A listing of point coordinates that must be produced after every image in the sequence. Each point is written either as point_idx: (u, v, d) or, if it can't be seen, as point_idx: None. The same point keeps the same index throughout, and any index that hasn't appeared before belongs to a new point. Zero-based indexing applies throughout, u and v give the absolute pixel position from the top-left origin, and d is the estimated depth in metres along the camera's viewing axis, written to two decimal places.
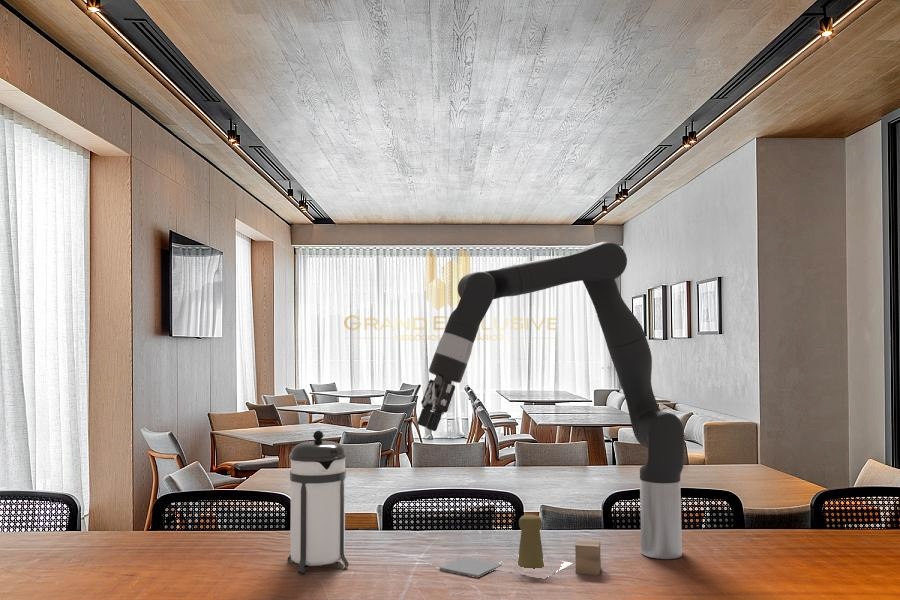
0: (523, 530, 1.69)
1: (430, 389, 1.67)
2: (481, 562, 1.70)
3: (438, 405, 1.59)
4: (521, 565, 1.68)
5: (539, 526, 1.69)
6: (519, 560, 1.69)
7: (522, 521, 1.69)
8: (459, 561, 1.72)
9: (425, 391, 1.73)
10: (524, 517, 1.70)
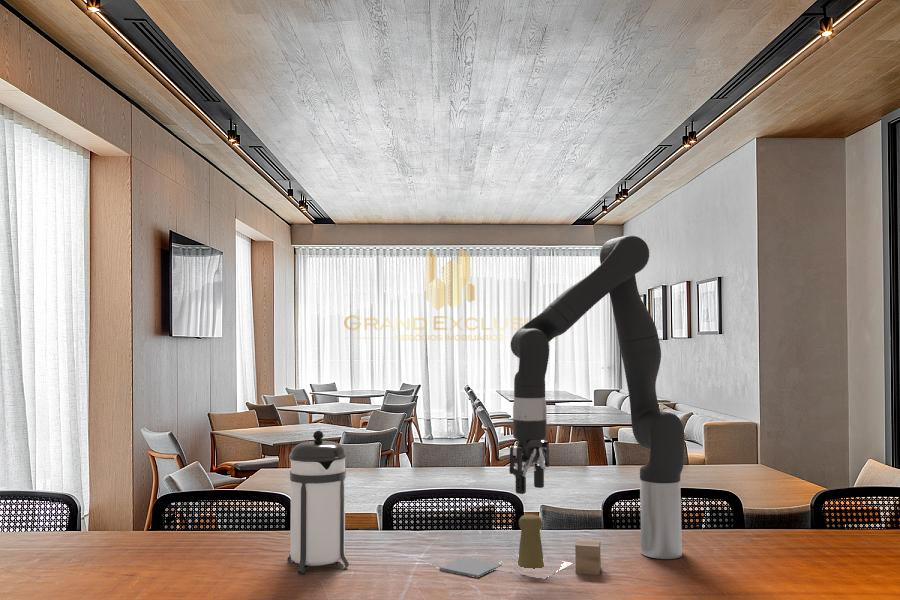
0: (523, 530, 1.69)
1: None
2: (481, 562, 1.70)
3: (510, 470, 1.66)
4: (521, 565, 1.68)
5: (539, 526, 1.69)
6: (519, 560, 1.69)
7: (522, 521, 1.69)
8: (459, 561, 1.72)
9: None
10: (524, 517, 1.70)
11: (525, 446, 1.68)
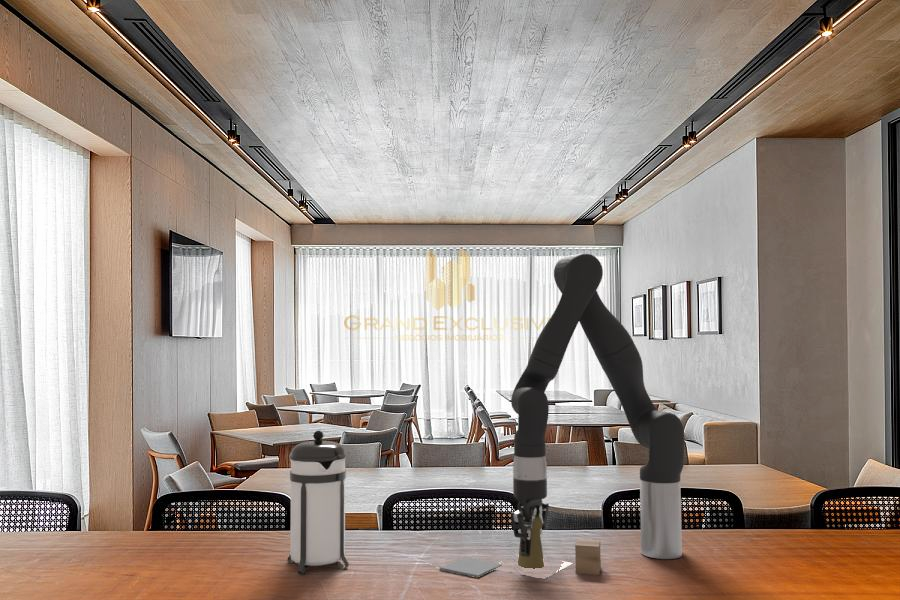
0: None
1: None
2: (481, 562, 1.70)
3: (515, 534, 1.67)
4: (521, 565, 1.68)
5: (539, 526, 1.69)
6: (519, 560, 1.69)
7: None
8: (459, 561, 1.72)
9: None
10: None
11: (525, 507, 1.67)
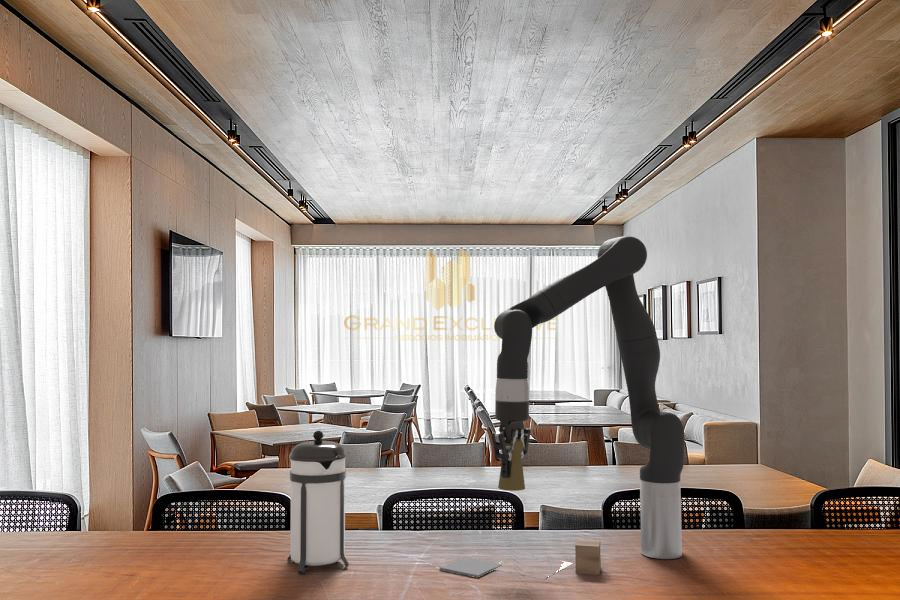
0: None
1: None
2: (481, 562, 1.70)
3: (496, 455, 1.67)
4: (502, 487, 1.68)
5: (520, 448, 1.69)
6: (500, 482, 1.69)
7: None
8: (459, 561, 1.72)
9: None
10: None
11: (506, 428, 1.67)
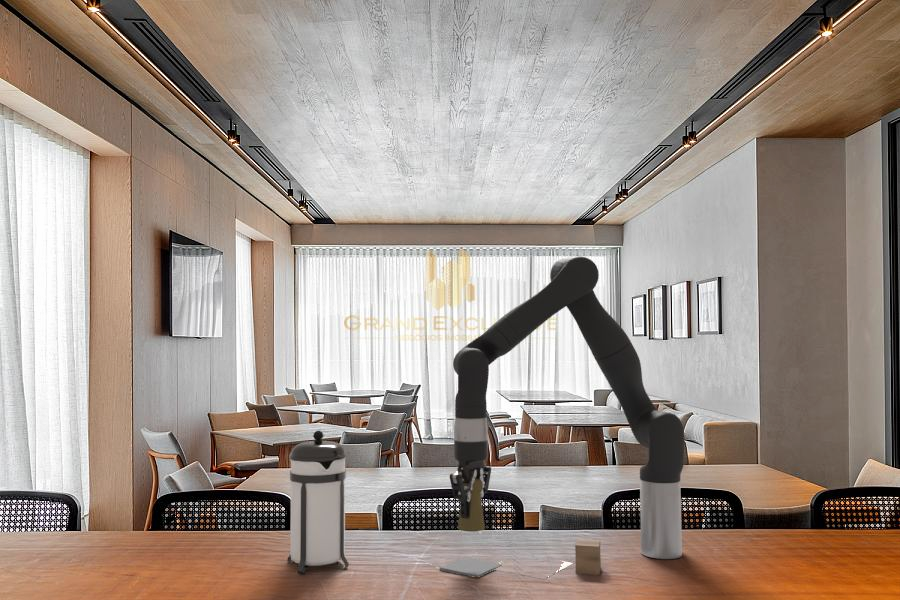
0: None
1: None
2: (481, 562, 1.70)
3: (454, 496, 1.65)
4: (461, 527, 1.67)
5: (479, 488, 1.67)
6: (459, 522, 1.68)
7: None
8: (459, 561, 1.72)
9: None
10: None
11: (464, 469, 1.66)
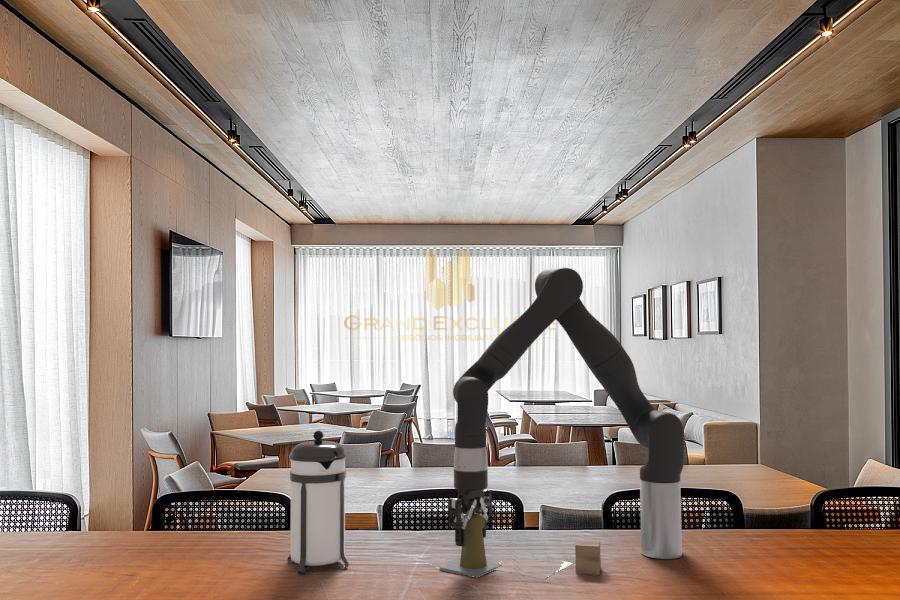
0: None
1: None
2: None
3: (449, 522, 1.64)
4: (463, 564, 1.67)
5: (481, 525, 1.68)
6: (461, 559, 1.68)
7: None
8: (459, 561, 1.72)
9: None
10: None
11: (465, 497, 1.66)
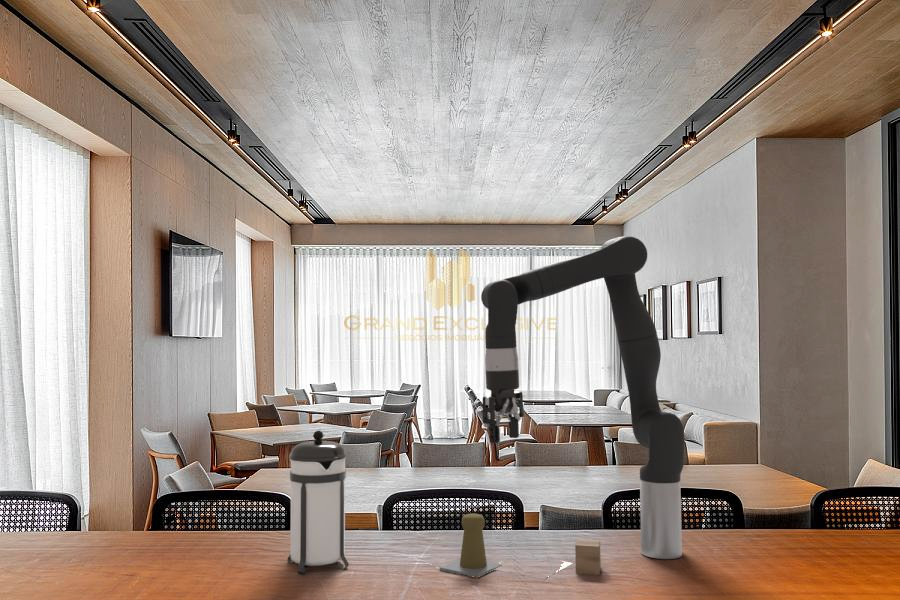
0: (465, 529, 1.68)
1: None
2: None
3: (483, 419, 1.68)
4: (463, 564, 1.67)
5: (481, 525, 1.68)
6: (461, 559, 1.68)
7: (465, 520, 1.68)
8: (459, 561, 1.72)
9: None
10: (467, 516, 1.69)
11: (498, 396, 1.69)
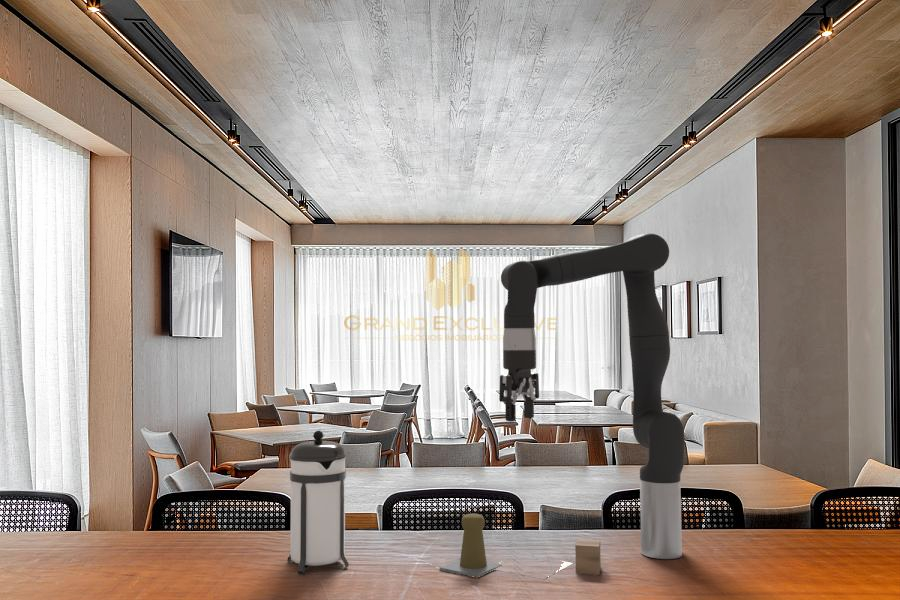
0: (465, 529, 1.68)
1: None
2: None
3: (500, 397, 1.69)
4: (463, 564, 1.67)
5: (481, 525, 1.68)
6: (461, 559, 1.68)
7: (465, 520, 1.68)
8: (459, 561, 1.72)
9: None
10: (467, 516, 1.69)
11: (515, 375, 1.71)
